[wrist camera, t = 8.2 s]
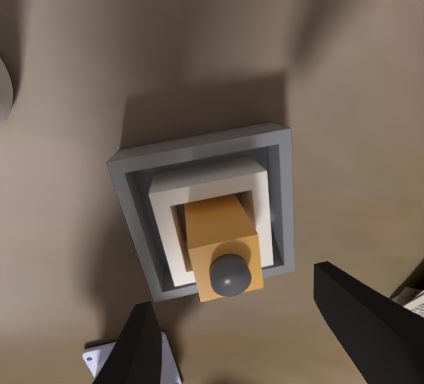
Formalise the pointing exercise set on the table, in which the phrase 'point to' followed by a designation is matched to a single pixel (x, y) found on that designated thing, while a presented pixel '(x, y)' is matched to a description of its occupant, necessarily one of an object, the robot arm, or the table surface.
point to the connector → (222, 247)
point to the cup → (5, 93)
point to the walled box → (205, 197)
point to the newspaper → (411, 300)
